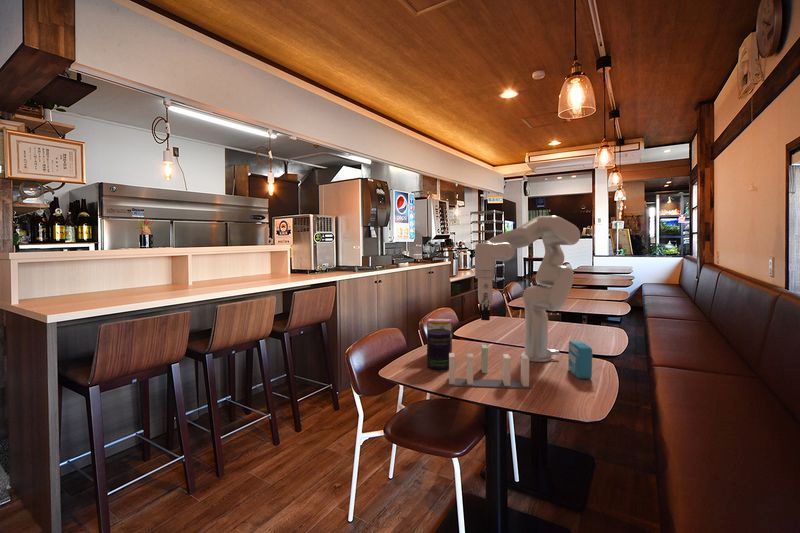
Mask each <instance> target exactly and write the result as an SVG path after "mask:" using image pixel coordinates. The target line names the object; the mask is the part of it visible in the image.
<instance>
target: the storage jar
mask: <svg viewBox="0 0 800 533" xmlns="http://www.w3.org/2000/svg"><path fill="white" fill-rule="evenodd" d="M450 334H451V331H449V330H446V329H431V330H428V331H427V330H426V346H427V345H428V354H427V353H426V363H427V366H426V368H427V369H428V370H430V371H432V372H446V371H449V353H450V345H451V335H450Z"/></svg>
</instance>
